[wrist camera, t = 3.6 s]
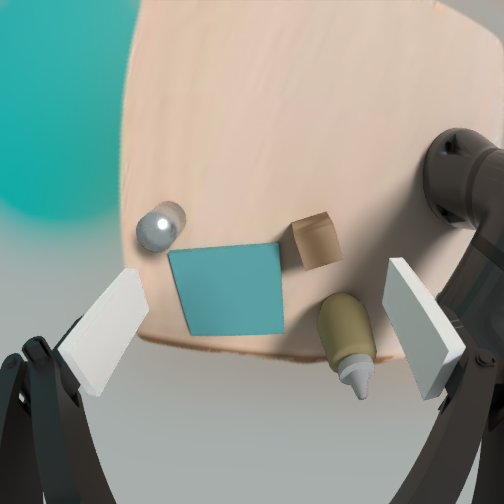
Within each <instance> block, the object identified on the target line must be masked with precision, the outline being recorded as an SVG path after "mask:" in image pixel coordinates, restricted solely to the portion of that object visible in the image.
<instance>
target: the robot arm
mask: <svg viewBox="0 0 504 504" xmlns="http://www.w3.org/2000/svg"><path fill="white" fill-rule="evenodd" d="M423 186H424V192H425V196H426V199H427V201H428V204H429V206H430V207H431V209H432V211H433V212H434V213H435V214H436V215H437V216H438V217H439V218H440V219H442V220H443V221H445V222H446V223H447V224H449V225H451V226H454V227H457V228H463V229H471V230H476V232H475V234H474V236H473V238H472V240H471V242H470V244H469V246H468V248H467V249H466V251H465V253H464V255H463V257H462V259H461V260H460V262H459V264H458V266H457V267H456V269H455V271H454V272H453V274H452V276H451V277H450V279H449V280H448V282H447V284H446V285H445V287H444V288H443V290H442V291H441V292H440V293H438V295H437V296H436V298H435V300H434V298H433V297H432V295H431V294H430V293H429V291H428V290H427V289H426V287H425V286H424V285H423V283H422V282H421V281H420V279H419V278H418V277H417V275H416V274H415V273H414V271H413V270H412V269H411V268H410V266H409V265H408V264H407V262H406V261H405V260H404V259H403V257H401V258H389V264H388V270H387V277H386V283H385V289H384V294H383V300H382V305H383V307H384V309H385V311H386V313H387V315H388V317H389V320H390V322H391V324H392V326H393V328H394V330H395V333H396V335H397V337H398V339H399V342H400V344H401V346H402V348H403V351H404V353H405V355H406V358H407V360H408V363H409V365H410V367H411V370H412V372H413V375H414V378H415V380H416V383H417V385H418V388H419V390H420V393H421V396H422V399H423V400H427V399H431V398H435V397H439V396H440V394H441V392H442V391H443V389H444V387H445V388H446V391H447V393H448V395H447V396H446V398H445V399H444V401H443V402H442V404H441V405H440V407H439V408H438V410H440V412H439V414H438V417H437V419H436V421H435V424H434V426H433V428H432V430H431V432H430V434H429V437H428V439H427V441H426V443H425V445H424V447H423V449H422V451H421V452H420V455H419V456H418V458H417V460H416V462H415V464H414V465H413V467H412V469H411V471H410V472H409V474H408V476H407V477H406V479H405V481H404V482H403V484H402V485H401V487H400V489H399V490H398V492H397V493H396V495H395V496H394V498H393V499H392V501H391V502H390V503H389V504H455V503H456V501H457V499H458V497H459V495H460V493H461V491H462V489H463V487H464V484H465V482H466V479H467V477H468V475H469V472H470V470H471V467H472V464H473V462H474V459H475V456H476V453H477V451H478V448H479V445H480V442H481V439H482V442H481V453H480V461H479V468H478V474H477V480H476V485H475V490H474V495H473V499H472V503H471V504H504V150H503V149H499V148H498V147H496V146H495V145H494V144H493V143H491V142H490V141H489V140H487V139H486V138H485V137H484V136H482V135H481V134H479V133H477V132H475V131H473V130H469V129H463V128H453V129H449V130H447V131H445V132H443V133H442V134H440V135H439V136H438V137H437V138H436V139H435V141H434V142H433V143H432V145H431V147H430V149H429V151H428V153H427V156H426V159H425V163H424V169H423ZM148 311H149V307H148V304H147V301H146V298H145V294H144V291H143V288H142V285H141V282H140V278H139V275H138V272H137V268H125V269H124V270H123V271H122V272H121V273H120V275H119V276H118V277H117V278H116V279H115V280H114V281H113V282H112V283H111V285H110V286H109V287H108V288H107V289H106V290H105V291H104V293H103V294H102V295H101V296H100V297H99V298H98V299H97V301H96V302H95V303H94V304H93V305H92V307H91V308H90V309H89V310H88V311H87V313H86V314H84V315H83V316H81V317H80V318H79V319H77V320H76V321H75V322H74V324H73V325H72V326H71V328H70V329H69V330H68V331H67V333H66V334H65V335H64V336H63V337H62V339H61V340H60V341H59V342H58V344H57V345H56V346H55V347H54V349H53V350H52V351H51V349H50V347H49V345H48V344H47V342H46V340H45V339H44V338H43V337H42V336H37V337H33V338H31V339H29V340H28V341H27V342H26V343H25V344H24V345H23V347H22V352H23V353H24V355H25V356H26V358H27V359H28V361H24V360H23V358H22V357H21V355H20V354H18V353H14V354H11V355H9V356H7V358H6V359H5V360H4V362H3V364H2V366H1V369H0V504H43V492H44V496H45V500H46V504H116V502H115V499H114V497H113V495H112V493H111V490H110V488H109V485H108V483H107V481H106V478H105V476H104V473H103V470H102V468H101V465H100V462H99V459H98V456H97V453H96V450H95V447H94V444H93V440H92V437H91V434H90V430H89V427H88V423H87V419H86V415H85V411H84V407H83V403H82V398H81V395H80V393H79V391H78V388H79V387H80V385H81V386H82V387H83V389H84V390H85V392H86V393H87V394H91V395H94V396H98V397H100V394H101V393H102V391H103V389H104V387H105V386H106V384H107V382H108V380H109V378H110V376H111V374H112V373H113V371H114V369H115V367H116V366H117V364H118V362H119V360H120V359H121V357H122V355H123V353H124V352H125V350H126V348H127V346H128V345H129V343H130V341H131V340H132V337H133V336H134V334H135V333H136V331H137V329H138V328H139V326H140V324H141V323H142V321H143V319H144V318H145V316H146V314H147V313H148ZM19 393H21V395H22V396H23V397H24V402H22V401H21V400H20V399H19Z"/></svg>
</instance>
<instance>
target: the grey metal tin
mask: <svg viewBox="0 0 504 504" xmlns="http://www.w3.org/2000/svg"><path fill="white" fill-rule="evenodd" d="M185 224H186V215H185V212H184V210H183V209H182V208H181V206H179V205H178V204H177V203H174V202H171V201H166V202H162V203H160V204H159V205H158V206H156V207H155V208H154V209H153V210H151V211H150V212H149V213H148V214H147V215H145V216H144V217H143V218H142V219H141V220H140V221H139V222H138V224H137V228H136V234H137V238H138V240H139V242H140V243H141V245H142V246H143V247H144V248H146V249H147V250H149V251H152V252H162V251H165V250H166V249H168V248H169V246H170V245H171V244H172V242H173V241H174V240H175V239H176V237H177V236H178V235H179V233H180V232H181V231H182V230H183V228H184V227H185Z"/></svg>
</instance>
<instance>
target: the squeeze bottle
mask: <svg viewBox="0 0 504 504" xmlns="http://www.w3.org/2000/svg"><path fill="white" fill-rule="evenodd" d="M317 329H318V332H319V335H320V338H321V341H322V344H323V347H324V350H325V353H326V356H327V359H328V362H329V365H330V367H331V369H332V370H333V371H334V372H336V373H338V375H339V379H340V381H341V382H342V383H344V384H347V385H351V386H352V388H353V390H354V392H355V394H356V395H357V397H358V399H359V400H363V399H366V398H367V397H368V379H369V378H370V377H371V376H372V374H373V373H374V369H375V367H374V364H373V361H374V360H375V358H376V353H377V351H376V346H375V342H374V337H373V333H372V329H371V325H370V320H369V316H368V313H367V311H366V309H365V307H364V305H363V304H361V303H360V302H359V301H358V300H356V299H355V298H354V297H352V296H351V295H349V294H347V293H336V294H333V295H331V296H329V297H328V298H327V299H326V300H325V301H324V302H323V304H322V307H321V309H320V313H319V316H318V319H317Z"/></svg>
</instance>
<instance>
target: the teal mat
mask: <svg viewBox="0 0 504 504" xmlns="http://www.w3.org/2000/svg"><path fill="white" fill-rule="evenodd" d="M168 254H169V258H170V262H171V266H172V270H173V274H174V277H175V281H176V285H177V288H178V292H179V296H180V299H181V302H182V306H183V309H184V313H185V316H186V319H187V323H188V326H189V329H190V332H191V335H192V336H236V335H266V334H284V315H283V298H282V283H281V268H280V254H279V243H264V244H250V245H236V246H223V247H209V248H196V249H183V250H170V252H169V253H168Z"/></svg>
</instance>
